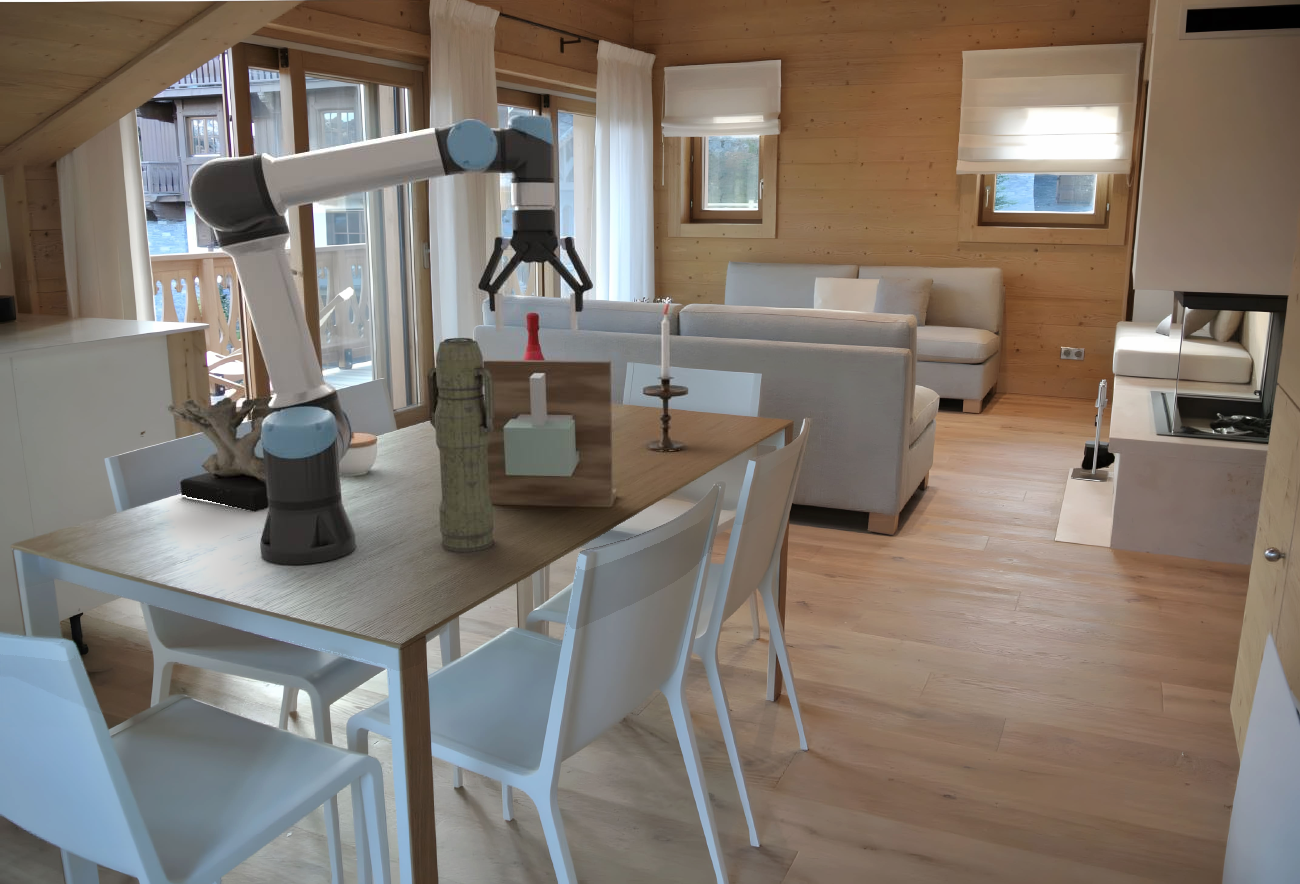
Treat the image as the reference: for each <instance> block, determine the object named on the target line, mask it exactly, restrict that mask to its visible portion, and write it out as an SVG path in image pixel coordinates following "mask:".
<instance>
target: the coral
mask: <svg viewBox="0 0 1300 884" xmlns="http://www.w3.org/2000/svg"><path fill="white" fill-rule="evenodd" d="M272 398H273V396H267V397H254V398H253V399H252V398H251V399H246V400H243V401H242V403H241V408H240V410H239V411H237V404H238V402H237V401H233V398H231V397H230V396H229V397H227V396H226V397H224V398H223V399H221V400H218V401H217V402H216V403H215V404H210V405H208V406H207V407H206V408H204V407H202V406H200V405H198V404H197V403H196V402H195V400H194V399H187V400H186V401H184V402H182V406H183V407H184V408H185V410H179V409H178V408H175V407H174V405H173V404H170V405H167V407H166V408H167V411H169V412H170V413H171V414H172V415H173V416H175V417H176V418H178V419H180V421H183V422H187V424H189V425H190V426H193V427H194V428H195V429H197V430H199V431H200V432H202V433H203V434H204V435H205V436H206V437H207V438H208V439H209V440H210V441H211V442H212V443H213V444H214V446H215V448H216V449H217V453H212V454H211V455H210V456H209V457H208V459H207V460H205V461H204V462H203V463H202V464H201V467H202V468H203V470H205V471H207V472H206V473H205V472H204V473H202V474H197V475H194V476H190V477H187V478H186V477H185V478H183V479H181V481H180V483H179V484H180V493H181V496H182V495H186V496H187V497H192V498H197V499H203V500H208V501H212V502H216V503H220V504H225V505H228V506H232V507H237V508H241V509H240V510H242V509H245V510H244V511H247V510H250V512H253V511H254V513H255V512H259V511H262V510H263V511H264V510H265V509H268V499H267V488H266V478H265V467H264V457H261V456H258V454H257V453H256V452H255V450H256V447H257V445H258V443H259V441H261V433H262V423H263V421H264V419H265V418H266V417H267V416H268V415H270V414H271V412H270V409H269V403H270V402H271V400H272ZM250 412H251V413H250ZM249 414H251V420H250V426H251V430H250V432H248V433H246V434H244V435H243V436H242V437H237V436H238V435H237V434H238V430H237V429H238V428H239V426H241V425H242V423H243V421H244V420H245V419H246V418H247V416H248V415H249ZM232 507H231V508H232ZM237 508H236V509H237Z"/></svg>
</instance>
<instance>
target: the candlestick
mask: <svg viewBox="0 0 1300 884" xmlns="http://www.w3.org/2000/svg"><path fill="white" fill-rule="evenodd" d="M669 304H670V302H669V301H668V302H667V304H666V305H665V309H664V310H663V314H664V316H663V320H662V321H661V376H658V377H657V379H658V380H660V383H661V384H660V385H659V384H656V385H648V386H645V387H643V388H642V394H643V395H645V396H647V397H648V396H649V397H655V398H656V397H658V398H659V399H660V400H662V414H660V415H659V419H660V421H661V423H662V425H661V426H660V429H662V436H661V438H660V439H658V440H657V439H656V440H651V441H648V442H647V443H646V448H647V447H648V448H649V449H652V450H663V451H669V450H679V449H682V448H684V449H685V443H684V442H683V441H680V440H675V439H674V440H672V439H671V438H670V436H669V429H671V428H672V427H671V426H670V425H669V424H670V421H671V419H672V415H671V414H669V400H671V399H672V398H675V397H682V396H687V395H688V394H689V387H687V386H682V385H676V384H671V383H670V382H671V380H672V379H674V377H673V376H670V321H669V320H668V316H667V315H668V311H669V306H670V305H669ZM649 449H648V450H649ZM652 450H651V451H652ZM679 451H680V450H679Z"/></svg>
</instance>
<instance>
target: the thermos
mask: <svg viewBox="0 0 1300 884" xmlns="http://www.w3.org/2000/svg"><path fill="white" fill-rule="evenodd" d="M435 355H436V356H435V367H432V368H430V370H429V372H428V374H427V376H426V377H427V389H428V402H429V419H430V421H429V423H430V424H431V425H432V427H433V428H434V429H435V443H436V446H437V448H438V450H439V465H440V468H439V469H440V485H441V500H440V501H441V502H440V505H439V508H438V511H439V514H438V515H439V530H440V531H439V532H440V533H441V546H442V549H445V550H447V551H450V552H456V553H471V552H478V551H482V550H483V551H484V550H485V549H488V548H490V547H491V546H493V545H494V537H493V531H494V528H495V527H494V504H492V503H491V500H490V498H489V480H488V455H487V447H488V445H489V442H490V434H489V432H492V431H494V419H495V415H494V389H493V376H492V375H491V373H490V372H489V370H488V369H485V368H484V367H483V361H484V359H483V358H484V357H483V354H482V351H481V349H480V346H479V343H478V341H477V340H474V339H473V338H468V337H453V338H446V339H443V341H440V342H439V344H438V348H437V352H436V354H435ZM484 379H485V393H484ZM485 400H486V404H485Z"/></svg>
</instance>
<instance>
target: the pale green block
mask: <svg viewBox="0 0 1300 884" xmlns="http://www.w3.org/2000/svg"><path fill="white" fill-rule="evenodd" d="M530 398H531V414H520V415H519V417H518V418H517V419H511V420H510V421H509V422H508V423H507V424H506V425H505V426H504V427H503V430H504V448H505V467H506V475H535V476H571V475H572V473H573V471H574V469H575V468H576V466H577V464H578V462H579V451H576V444H575V420H573V415H547V408H546V383H545V373H534V374H533V375H532V376H531V377H530Z"/></svg>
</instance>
